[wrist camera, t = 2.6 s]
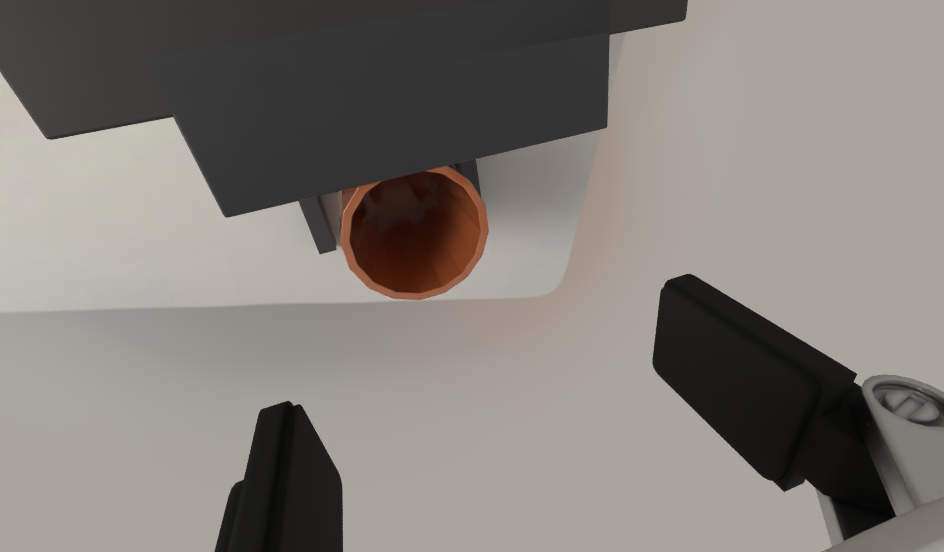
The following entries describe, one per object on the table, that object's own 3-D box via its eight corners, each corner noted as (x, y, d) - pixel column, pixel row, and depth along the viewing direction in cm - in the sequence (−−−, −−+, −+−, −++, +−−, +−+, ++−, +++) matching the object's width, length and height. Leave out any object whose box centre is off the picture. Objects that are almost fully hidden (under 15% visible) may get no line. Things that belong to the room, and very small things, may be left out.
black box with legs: (316, 247, 29) (292, 498, 12) (210, -18, 21) (-289, -342, 4) (480, 204, 32) (648, 366, 15) (443, -49, 23) (725, -334, 7)
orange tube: (355, 229, 29) (366, 316, 19) (324, 136, 26) (318, 182, 16) (442, 207, 31) (495, 277, 21) (423, 115, 27) (477, 146, 17)
